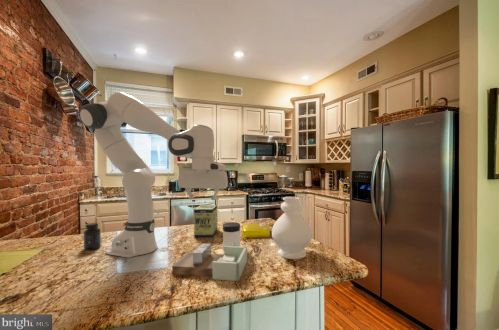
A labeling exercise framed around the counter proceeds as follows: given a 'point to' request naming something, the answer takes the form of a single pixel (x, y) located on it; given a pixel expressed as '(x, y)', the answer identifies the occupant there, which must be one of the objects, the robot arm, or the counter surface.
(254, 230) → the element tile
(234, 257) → the tile far
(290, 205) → the decorative vase
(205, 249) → the grey block
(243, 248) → the box
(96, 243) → the supplement bottle
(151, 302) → the counter surface
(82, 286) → the counter surface
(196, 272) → the board
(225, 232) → the jar
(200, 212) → the protein box
